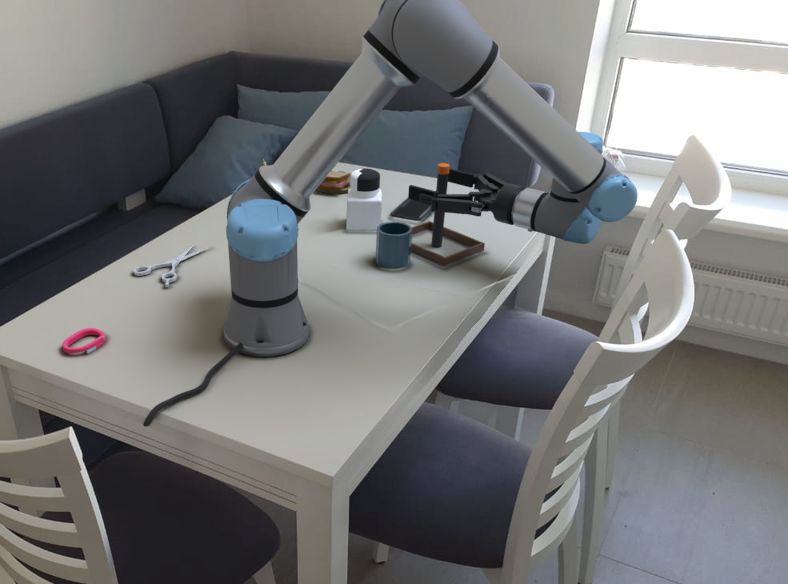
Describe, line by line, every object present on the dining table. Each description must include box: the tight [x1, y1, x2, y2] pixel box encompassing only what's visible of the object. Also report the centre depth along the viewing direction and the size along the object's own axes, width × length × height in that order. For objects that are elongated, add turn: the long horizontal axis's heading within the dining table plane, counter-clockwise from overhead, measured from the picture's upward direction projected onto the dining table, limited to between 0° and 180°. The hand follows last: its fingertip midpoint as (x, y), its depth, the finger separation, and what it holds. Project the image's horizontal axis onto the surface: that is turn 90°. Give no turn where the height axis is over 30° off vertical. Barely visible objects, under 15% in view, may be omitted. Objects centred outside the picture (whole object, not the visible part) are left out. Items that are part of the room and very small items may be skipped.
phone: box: [390, 197, 433, 223], centre depth 191 cm, size 8×1×15 cm
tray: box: [411, 220, 486, 267], centre depth 173 cm, size 12×16×2 cm
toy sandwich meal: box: [316, 170, 351, 194], centre depth 205 cm, size 12×14×5 cm
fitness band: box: [62, 327, 107, 355], centre depth 142 cm, size 8×6×2 cm
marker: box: [430, 162, 451, 249], centre depth 168 cm, size 2×2×18 cm
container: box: [345, 167, 383, 231], centre depth 181 cm, size 8×8×13 cm
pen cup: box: [375, 221, 413, 269], centre depth 165 cm, size 7×7×8 cm
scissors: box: [133, 244, 210, 288], centre depth 169 cm, size 11×1×20 cm
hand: (428, 182), depth 167 cm, fingers open, 13 cm apart
